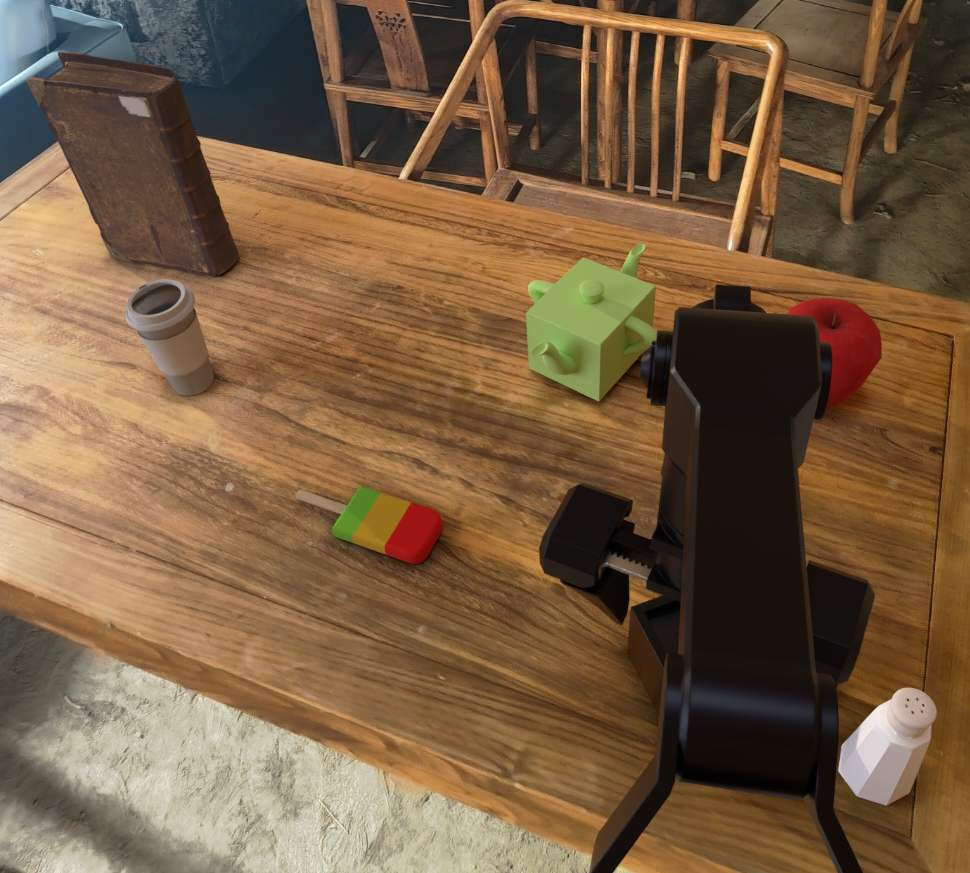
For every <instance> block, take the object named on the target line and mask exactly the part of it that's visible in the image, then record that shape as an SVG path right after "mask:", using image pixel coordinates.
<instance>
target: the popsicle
mask: <svg viewBox="0 0 970 873" xmlns="http://www.w3.org/2000/svg"><path fill="white" fill-rule="evenodd" d="M294 496H295V497H294V498H295V499H296V500H299V501H301V502H304V503H308V504H309V505H312V506H316V507H319V508H322V509H323V510H324V509H325V510H328V511H330V512H333V513H336V514H338V515H339V514H340V515H339V517H338V518H337V520H336V521H335V523H334V524H333V526H332V527H331V532H332V535H333V537H335V538H338V539H341V540H344V541H347V542H349V543H352V544H353V545H354V544H355V545H358V546H360V547H364V548H366V549H369V550H372V551H375V552H378V553H380V554H382V555H385V556H389V557H391V558H393V559H397V560H400V561H403V562H404V563H405V562H406V563H409V564H415V565H416V564H417V565H418V564H421V563H423V562H424V561H425V560H426V559H427V557H428V556H429V555H430V554H431V552H432V550H433V548H434V546H435V544H436V543H437V541H438V540H439V537H440V536H441V534H442V531H443V529H444V522H443V518H442V515H441V514H440V513H439V512H438V511H437V510H435V509H433V508H430V507H427V506H425V505H421V504H418V503H415V502H412V501H410V500H405V499H404V498H399V497H397V496H394V495H390V494H388V493H386V492H385V493H384V492H381V491H379V490H375V489H373V488H371V487H370V488H369V487H366V486H363V485H361V486H359V487H358V488H357V490H356V491H355V493H354V494H353V496H352V497H351V499H350V501H349V502H348V504H344V503H342V502H339V501H336V500H332V499H329V498H326V497H323V496H321V495H317V494H316V493H315V494H314V493H311V492H309V491H306V490H303V489H302V490H301V489H299V490H297V491H296V492H295V494H294Z"/></svg>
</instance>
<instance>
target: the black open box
mask: <svg viewBox="0 0 970 873" xmlns="http://www.w3.org/2000/svg"><path fill="white" fill-rule="evenodd" d="M680 606H681V602H680V601H677V600H674V599H672V598H669V597H666V596H664V595H660V596H657V597H654V598H652V599H651V598H650V599H648V600H645V601H642V602H640V603H637V604H635V605H632V606H630V611H629V624H628V634H627V647H626V655H627V657H628V658H629V661H630V663H631V664H632V667H633V668H634V671H635V672H636V674H637V677H638V678H639V680H640V683H641V685H642V686H643V688H644V690H645V693H646V694H647V696H648V698H649V700H650V702H651V704H652V706H653V708H654V710H655V711H656V714H657V716H658V717H659V713H660V702H661V692H662V682H663V673H664V665H665V658H666V654H667V653H674V654H678V646H679V626H680ZM835 686H836V689H837V688H838V686H839V684H838V685H835Z"/></svg>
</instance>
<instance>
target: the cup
mask: <svg viewBox="0 0 970 873" xmlns="http://www.w3.org/2000/svg"><path fill="white" fill-rule="evenodd" d="M195 305H196V296H195V294H194V292H192V290H191V289H190V288H189V287H187V286H186V285H184V284H183V283H181V282H180V281H178V280H176V279H171V278H162V279H161V278H160V279H155V280H152V281H149V282H146V283H144V284H142V285H140V286H139V287H137V288H135V290H134V291H133V292H132V293H131V294H130V295H129V297H128V298H127V302H126V310H125V320H126V323H127V324H128V326H130V327H131V328H132V329H134V330H136V333H137V335H138V337H139V339H140V340H141V342H142V344H143V345H144V346H145V348H146V350H147V351H148V353H149V355H150V357H151V358H152V360H153V361H154V363H155V364H156V366H157V368H158V369H159V370H160V372H161V373H163V375H164V376H165V378H166V380H167V382H168V384H169V385H170V387H171V388H172V390H173V391H174V393H175V394H178V395H180V396H183V397H190V396H191V397H192V396H197V395H199V394H202V393H203V392H205V391H206V390H208V389H209V388H210V386H211V385H212V384H213V383H214V381H215V373H214V370H213V366H212V364H211V361H210V357H209V350H208V347H207V343H206V339H205V336H204V334H203V331H202V327H201V324H200V320H199V317H198V313H197V311H196V309H195Z"/></svg>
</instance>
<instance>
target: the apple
mask: <svg viewBox="0 0 970 873" xmlns="http://www.w3.org/2000/svg"><path fill="white" fill-rule="evenodd" d="M786 314H790V315H804V316H812V317H813V319H814V320H815V321H816V322H817V325H818V329H819V338H820V342H828V343H830V345H831V348H832V378H831V386H830V393H829V398H828V403H827V407H826V409H828V408H834V407H837V406H839V405H841V404H842V403H843V402H845V401H847V400H848V399H850V397H851V396H852V395H854V393H856V392H857V391H858V390H859V389H860V388H861V387H862V386H863V385H864V383H865V382H866V381H867V380H868V378H869V376H870V375H871V373H872V372H873V371H874V370H875V368H876V367H877V366H878V364H879V362H880V361H881V359H882V358H883V352H882V350H883V348H882V347H883V346H882V343H883V342H882V336H881V330H880V328H879V327H878V325H877V323H876V321H874V319H873V318H872V317H871V316H870V315H869V314H868V313H867V312H866V311H865V310H863V309H862V308H861V307H860V306H858V304H856V303H854V302H850V301H848V300H844V299H839V298H834V297H833V298H832V297H821V298H812V299H807V300H804V301H802V302H800V303H798V304H795V305H794V306H791V307H790V308H789V310H788V311H787V312H786Z"/></svg>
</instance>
